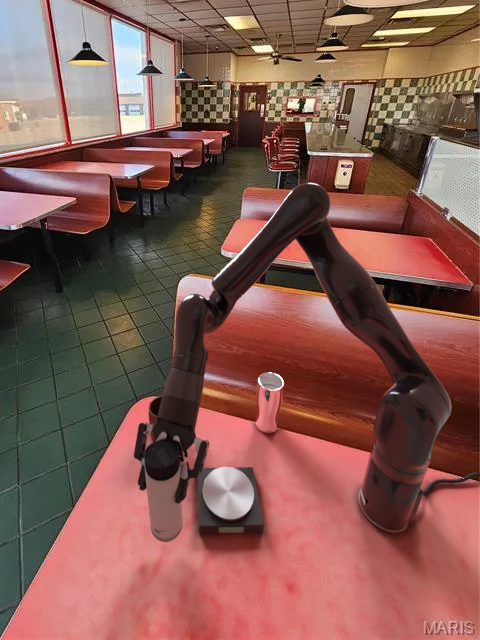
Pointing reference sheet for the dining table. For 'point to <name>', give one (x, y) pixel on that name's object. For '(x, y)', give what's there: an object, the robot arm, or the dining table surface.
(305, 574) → the dining table surface
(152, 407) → the mug
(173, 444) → the travel mug
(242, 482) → the scale pan
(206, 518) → the scale
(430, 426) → the robot arm
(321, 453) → the dining table surface
